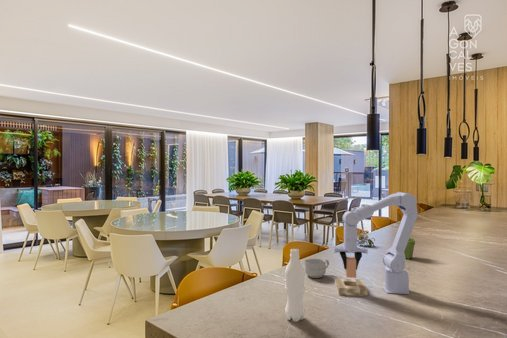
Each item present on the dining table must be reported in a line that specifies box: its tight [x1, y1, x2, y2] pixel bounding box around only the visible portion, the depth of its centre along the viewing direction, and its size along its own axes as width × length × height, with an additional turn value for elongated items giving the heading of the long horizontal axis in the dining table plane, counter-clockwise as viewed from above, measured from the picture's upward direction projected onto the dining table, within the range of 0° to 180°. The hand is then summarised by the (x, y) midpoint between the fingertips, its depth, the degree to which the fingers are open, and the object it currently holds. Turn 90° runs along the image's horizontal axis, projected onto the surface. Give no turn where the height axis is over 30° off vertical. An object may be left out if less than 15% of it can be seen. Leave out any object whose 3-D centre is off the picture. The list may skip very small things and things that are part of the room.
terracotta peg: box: [344, 256, 357, 279], centre depth 142 cm, size 4×4×8 cm
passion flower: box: [357, 231, 376, 247], centre depth 226 cm, size 11×11×12 cm
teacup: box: [303, 258, 330, 279], centre depth 162 cm, size 14×11×8 cm
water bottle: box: [284, 248, 306, 323], centre depth 116 cm, size 7×7×25 cm
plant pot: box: [404, 237, 417, 260], centre depth 195 cm, size 12×12×11 cm
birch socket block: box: [334, 277, 369, 297], centre depth 142 cm, size 12×12×3 cm
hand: (350, 268), depth 143 cm, fingers closed on terracotta peg, 4 cm apart
